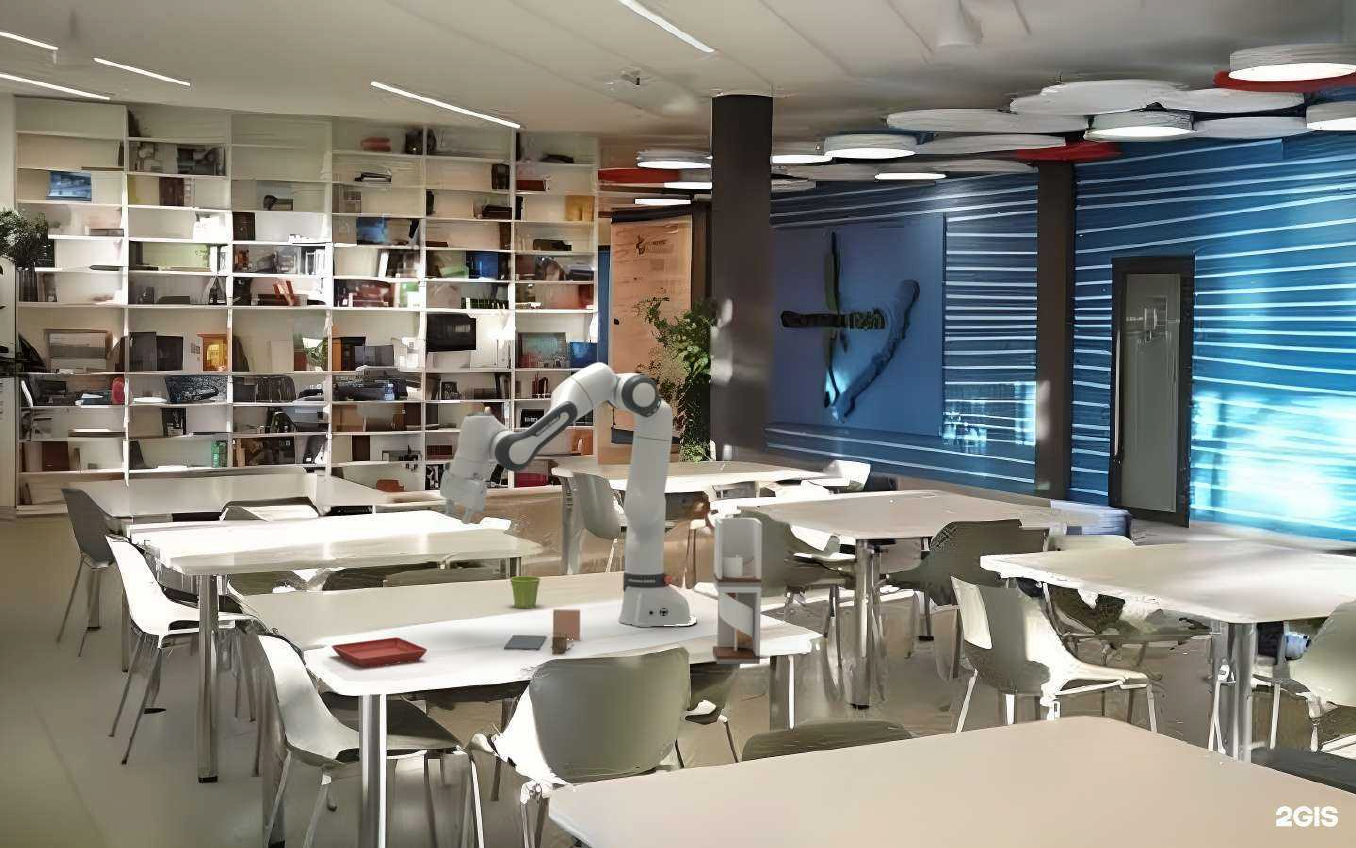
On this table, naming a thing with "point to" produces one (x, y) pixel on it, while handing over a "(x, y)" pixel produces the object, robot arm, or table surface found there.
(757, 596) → the display case
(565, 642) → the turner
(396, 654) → the plant saucer
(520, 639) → the mat
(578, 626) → the tile
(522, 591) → the plant pot
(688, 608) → the robot arm
